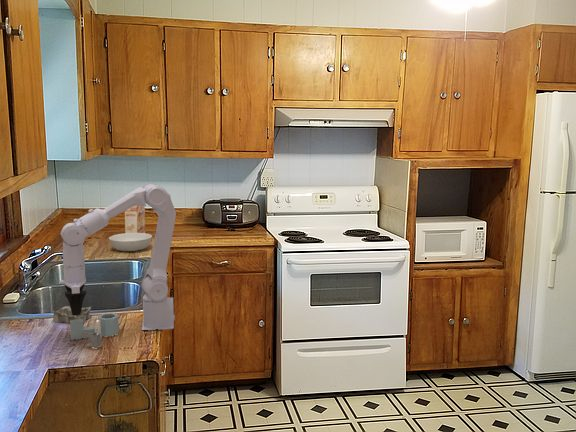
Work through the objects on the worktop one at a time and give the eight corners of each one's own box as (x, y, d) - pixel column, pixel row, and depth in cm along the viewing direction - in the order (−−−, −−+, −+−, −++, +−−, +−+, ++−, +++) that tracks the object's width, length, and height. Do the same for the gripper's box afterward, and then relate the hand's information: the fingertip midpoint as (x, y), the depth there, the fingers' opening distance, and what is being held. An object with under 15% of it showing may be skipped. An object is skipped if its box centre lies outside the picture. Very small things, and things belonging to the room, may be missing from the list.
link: (117, 329, 165) (116, 312, 164) (119, 335, 160) (118, 318, 159) (70, 334, 160) (69, 317, 159) (71, 341, 155) (70, 323, 154)
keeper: (84, 345, 152) (83, 332, 151) (100, 347, 151) (99, 333, 150) (81, 347, 150) (80, 334, 150) (97, 349, 150) (96, 335, 149)
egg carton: (50, 323, 170) (49, 311, 169) (62, 315, 177) (61, 303, 176) (82, 325, 168) (81, 312, 168) (93, 317, 176) (92, 304, 175)
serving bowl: (109, 246, 279) (108, 233, 278) (151, 244, 286) (150, 231, 285) (109, 255, 260) (108, 241, 259) (154, 253, 266) (153, 239, 265)
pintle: (101, 339, 157) (100, 318, 156) (101, 341, 155) (100, 321, 154) (95, 339, 156) (94, 319, 155) (94, 342, 155) (93, 321, 154)
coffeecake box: (138, 242, 291) (137, 206, 288) (124, 241, 292) (123, 205, 288) (145, 236, 306) (145, 202, 303) (133, 236, 306) (132, 202, 303)
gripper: (58, 260, 159) (60, 304, 162) (59, 272, 146) (61, 320, 148) (84, 258, 162) (85, 302, 164) (86, 270, 149) (88, 317, 151)
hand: (76, 310), depth 157 cm, fingers open, 7 cm apart
